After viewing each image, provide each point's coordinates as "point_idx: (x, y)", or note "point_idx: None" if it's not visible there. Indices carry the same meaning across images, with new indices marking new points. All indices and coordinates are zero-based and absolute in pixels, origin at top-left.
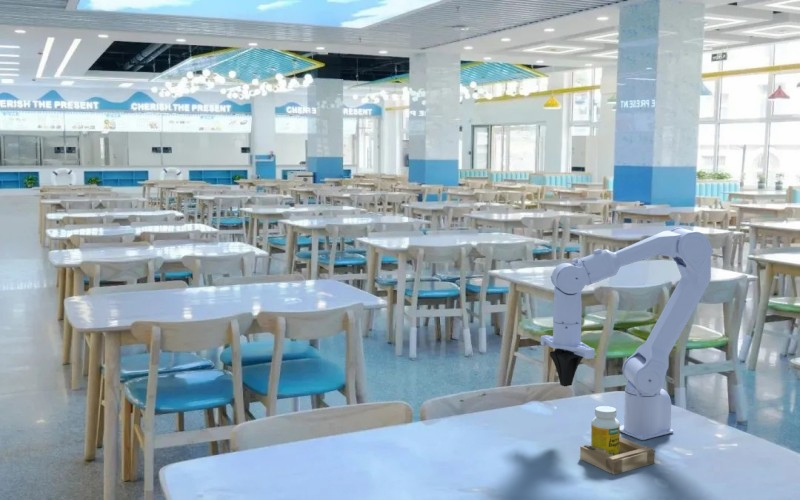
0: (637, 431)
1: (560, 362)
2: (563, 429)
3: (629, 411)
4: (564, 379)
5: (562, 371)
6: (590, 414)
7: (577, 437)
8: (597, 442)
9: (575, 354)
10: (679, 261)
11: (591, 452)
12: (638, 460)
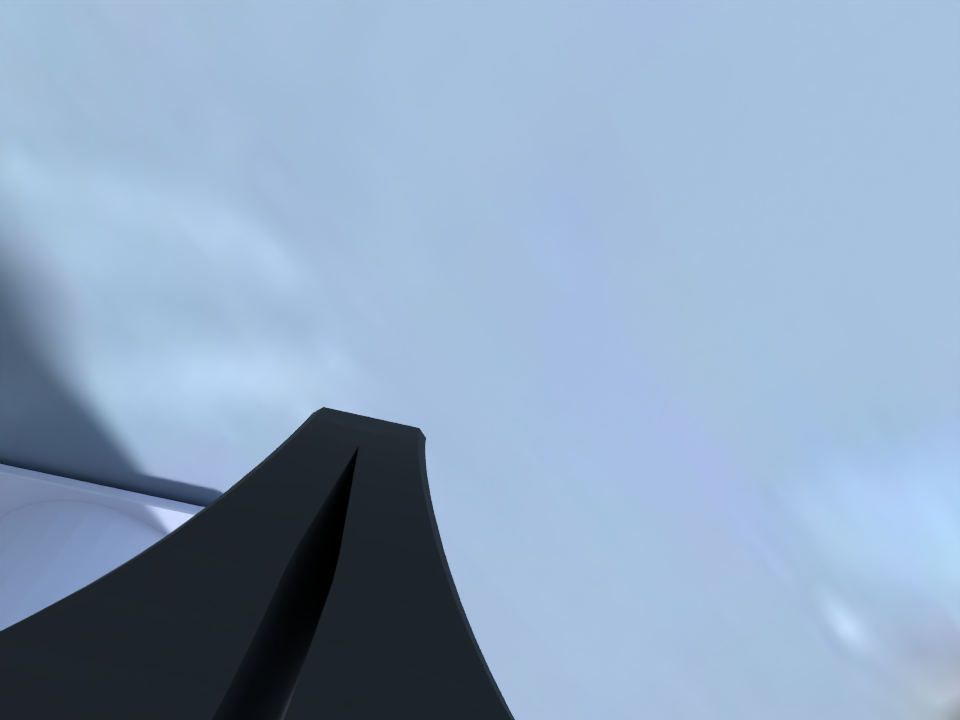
0: (19, 518)
1: (145, 715)
2: (509, 281)
3: (10, 623)
4: (266, 465)
5: (230, 549)
6: (557, 649)
7: (304, 203)
8: None
9: None
10: None
11: None
12: None
